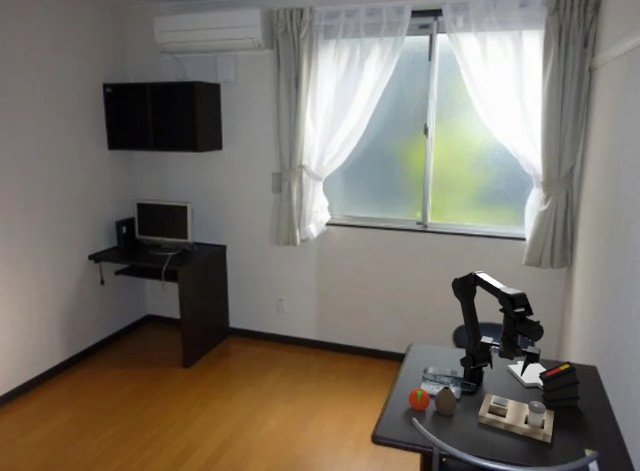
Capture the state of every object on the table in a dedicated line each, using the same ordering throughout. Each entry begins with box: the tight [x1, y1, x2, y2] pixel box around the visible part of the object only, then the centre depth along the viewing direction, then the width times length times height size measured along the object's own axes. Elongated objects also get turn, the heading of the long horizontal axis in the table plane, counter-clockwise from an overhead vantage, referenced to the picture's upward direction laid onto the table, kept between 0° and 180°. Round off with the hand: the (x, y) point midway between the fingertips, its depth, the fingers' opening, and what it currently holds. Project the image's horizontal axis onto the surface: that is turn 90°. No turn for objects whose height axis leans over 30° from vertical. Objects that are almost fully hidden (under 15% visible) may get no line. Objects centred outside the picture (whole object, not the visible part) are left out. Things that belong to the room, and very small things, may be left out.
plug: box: [526, 400, 547, 429], centre depth 148 cm, size 5×5×8 cm
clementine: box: [408, 387, 431, 411], centre depth 157 cm, size 8×7×7 cm
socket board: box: [477, 393, 555, 444], centre depth 153 cm, size 21×14×3 cm, turn 62°
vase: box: [434, 385, 457, 416], centre depth 156 cm, size 7×7×9 cm
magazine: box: [539, 360, 581, 407], centre depth 161 cm, size 4×13×15 cm, turn 92°
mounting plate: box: [506, 360, 547, 390], centre depth 179 cm, size 18×13×2 cm
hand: (506, 372), depth 158 cm, fingers open, 9 cm apart
